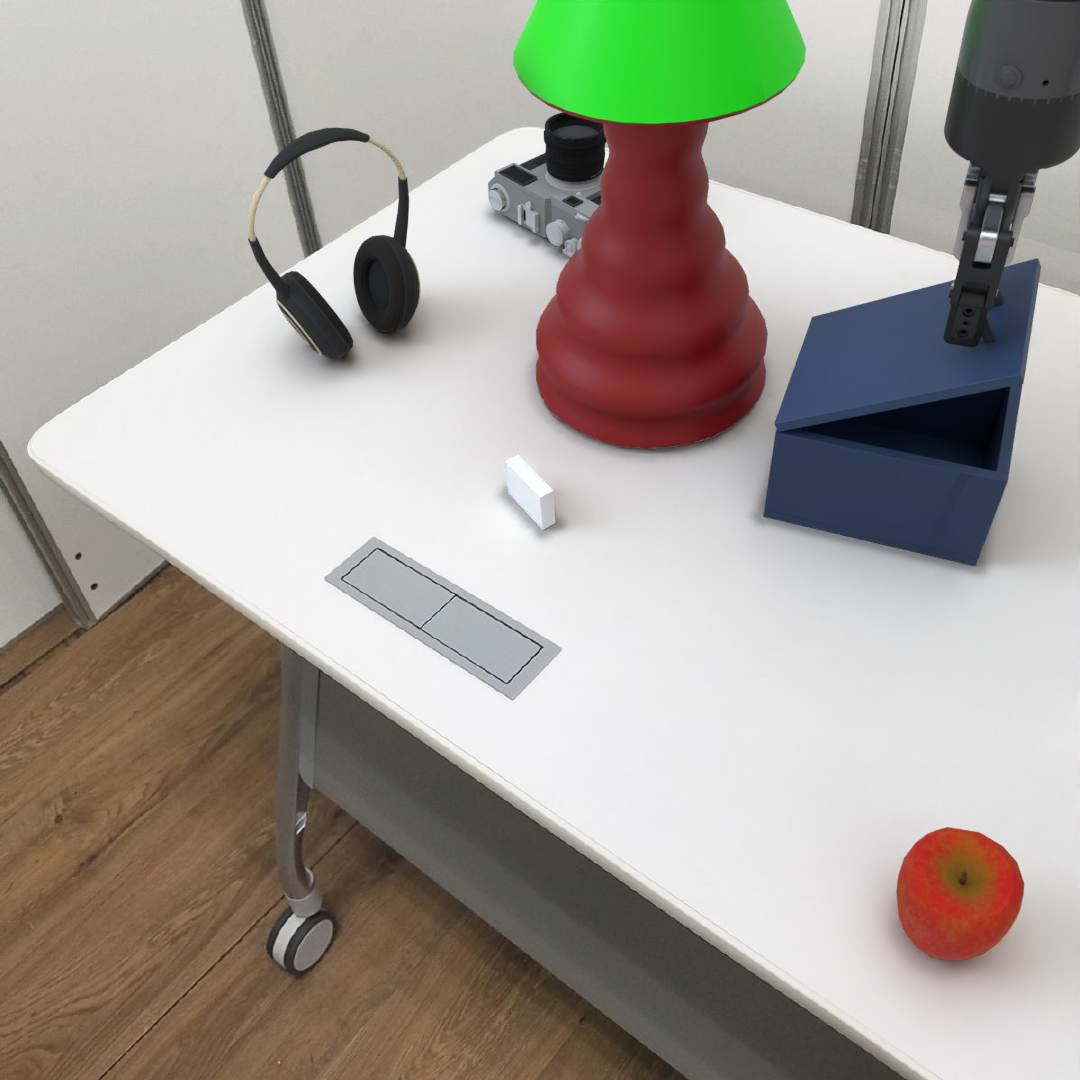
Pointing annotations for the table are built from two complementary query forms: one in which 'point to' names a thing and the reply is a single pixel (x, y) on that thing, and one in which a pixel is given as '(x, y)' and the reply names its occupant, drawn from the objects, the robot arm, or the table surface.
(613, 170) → the table lamp
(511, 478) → the eraser
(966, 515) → the box
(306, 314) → the headphones
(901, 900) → the apple
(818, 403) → the lid
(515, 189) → the camera
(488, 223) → the table surface
